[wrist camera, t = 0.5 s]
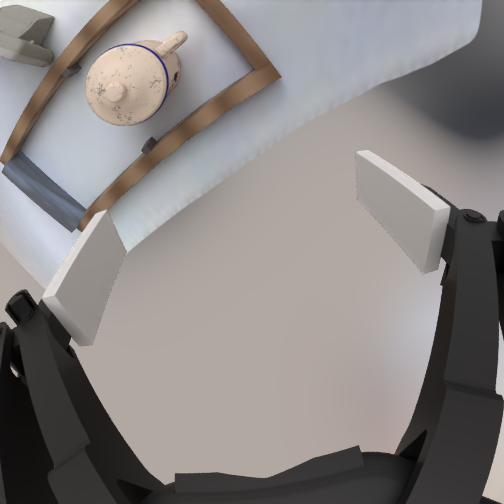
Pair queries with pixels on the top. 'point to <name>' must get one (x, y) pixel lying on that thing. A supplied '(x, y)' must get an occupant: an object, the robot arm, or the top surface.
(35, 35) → the digital clock
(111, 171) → the top surface
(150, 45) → the teacup with lid
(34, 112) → the open rectangular wooden frame
